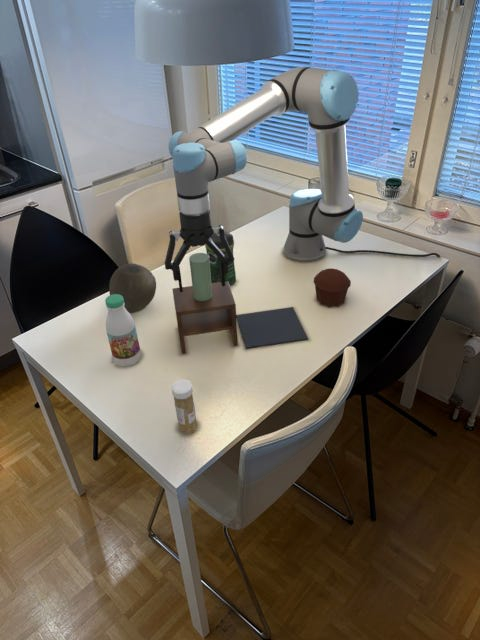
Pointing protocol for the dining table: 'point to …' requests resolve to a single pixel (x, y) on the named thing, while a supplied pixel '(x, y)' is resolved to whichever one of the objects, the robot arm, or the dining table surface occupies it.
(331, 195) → the robot arm
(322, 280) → the muffin
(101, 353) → the dining table surface
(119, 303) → the milk bottle
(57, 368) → the dining table surface
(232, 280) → the coffee jar
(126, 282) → the dimpled grey orange
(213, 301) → the wooden side table
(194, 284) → the canister
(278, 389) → the dining table surface
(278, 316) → the felt mat
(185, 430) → the sprinkles bottle
